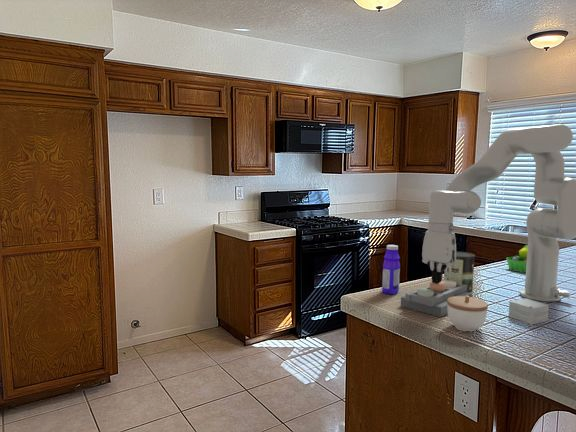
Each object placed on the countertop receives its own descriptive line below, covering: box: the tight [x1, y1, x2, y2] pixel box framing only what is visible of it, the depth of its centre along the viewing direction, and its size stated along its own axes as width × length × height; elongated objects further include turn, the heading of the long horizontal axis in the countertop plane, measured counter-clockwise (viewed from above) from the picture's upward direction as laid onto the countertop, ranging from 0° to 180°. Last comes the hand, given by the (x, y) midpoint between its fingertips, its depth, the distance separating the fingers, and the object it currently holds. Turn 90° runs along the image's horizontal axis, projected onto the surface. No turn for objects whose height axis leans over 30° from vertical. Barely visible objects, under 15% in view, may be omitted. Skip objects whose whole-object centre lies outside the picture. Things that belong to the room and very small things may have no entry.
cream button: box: [441, 279, 456, 288], centre depth 147 cm, size 5×5×3 cm
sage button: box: [416, 287, 434, 298], centre depth 136 cm, size 5×5×3 cm
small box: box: [508, 297, 550, 325], centre depth 129 cm, size 8×8×5 cm
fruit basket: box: [505, 244, 528, 273], centre depth 190 cm, size 11×9×11 cm
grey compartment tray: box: [400, 283, 473, 318], centre depth 142 cm, size 14×25×5 cm, turn 134°
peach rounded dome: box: [429, 280, 446, 293], centre depth 142 cm, size 5×5×3 cm
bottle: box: [381, 244, 401, 295], centre depth 154 cm, size 7×6×17 cm
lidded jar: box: [447, 296, 489, 332], centre depth 121 cm, size 11×11×9 cm
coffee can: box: [443, 250, 476, 294], centre depth 157 cm, size 10×10×14 cm
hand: (436, 282), depth 141 cm, fingers closed
